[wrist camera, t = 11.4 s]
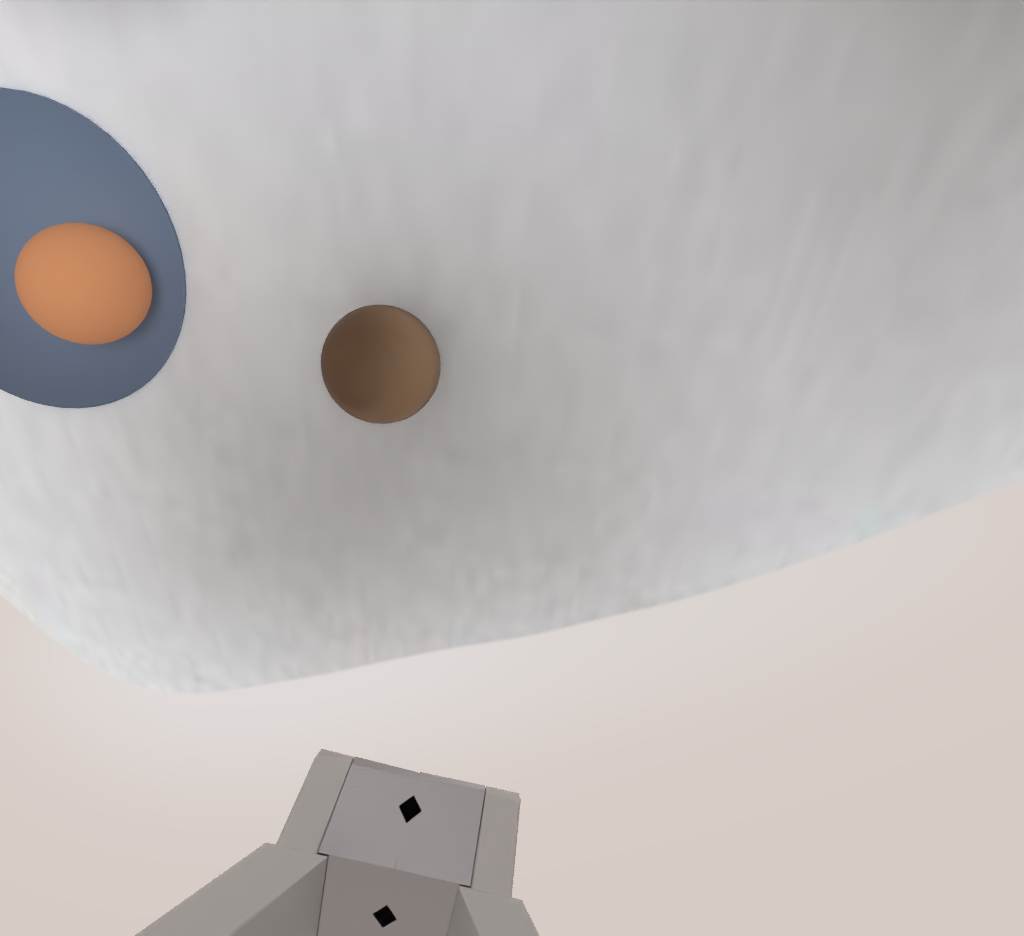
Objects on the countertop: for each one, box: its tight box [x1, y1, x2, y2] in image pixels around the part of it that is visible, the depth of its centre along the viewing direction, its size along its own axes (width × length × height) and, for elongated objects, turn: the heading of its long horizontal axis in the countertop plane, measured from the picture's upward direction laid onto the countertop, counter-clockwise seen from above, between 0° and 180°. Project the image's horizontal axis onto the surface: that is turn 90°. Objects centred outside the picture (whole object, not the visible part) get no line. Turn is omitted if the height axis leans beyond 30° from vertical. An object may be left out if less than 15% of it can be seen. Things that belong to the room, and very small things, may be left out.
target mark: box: [0, 88, 186, 408], centre depth 33 cm, size 14×14×1 cm
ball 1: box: [15, 222, 152, 345], centre depth 30 cm, size 5×5×5 cm
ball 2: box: [321, 305, 440, 424], centre depth 31 cm, size 5×5×5 cm
